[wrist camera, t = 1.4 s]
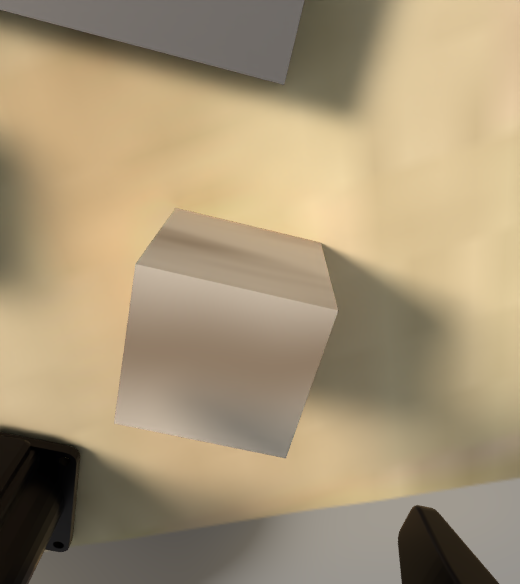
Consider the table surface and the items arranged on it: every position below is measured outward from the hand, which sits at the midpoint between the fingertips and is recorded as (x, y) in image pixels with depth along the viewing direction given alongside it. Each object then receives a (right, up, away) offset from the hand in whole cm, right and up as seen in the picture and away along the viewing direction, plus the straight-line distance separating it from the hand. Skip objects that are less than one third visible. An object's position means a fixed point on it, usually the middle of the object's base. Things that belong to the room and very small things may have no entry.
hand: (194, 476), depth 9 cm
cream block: (0, +4, +8) cm, 8 cm away
